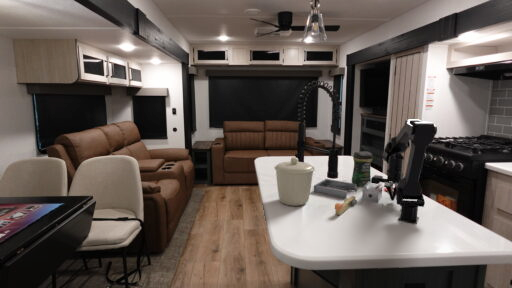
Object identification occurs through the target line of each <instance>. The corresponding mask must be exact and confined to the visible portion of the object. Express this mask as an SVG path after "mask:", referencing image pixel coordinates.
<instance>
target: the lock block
mask: <svg viewBox="0 0 512 288" xmlns="http://www.w3.org/2000/svg"><path fill="white" fill-rule="evenodd" d="M382 183H383V182H380V183H379V184H374V183H371V182H369V181H368V182H367V183H366V184H365V186H362V187H363V188H362V201H366V202H371V203H375V204H378V203H380V201H381V200H382V197H383V185H382Z"/></svg>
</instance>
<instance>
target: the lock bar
mask: <svg viewBox="0 0 512 288" xmlns="http://www.w3.org/2000/svg"><path fill="white" fill-rule="evenodd" d="M348 198H349V199H347V198H346V199H347V200H346V201H345V202H344V201H343V203H341V202H340V203H339V202H337V203H335V204H334V210H335V213H334V214H335V215H336V216H341V215H342V214H343V213H344V212H346V210H348V208H349V207H352V201H354V200H356V196H354V195H351V196H350V197H348Z"/></svg>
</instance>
